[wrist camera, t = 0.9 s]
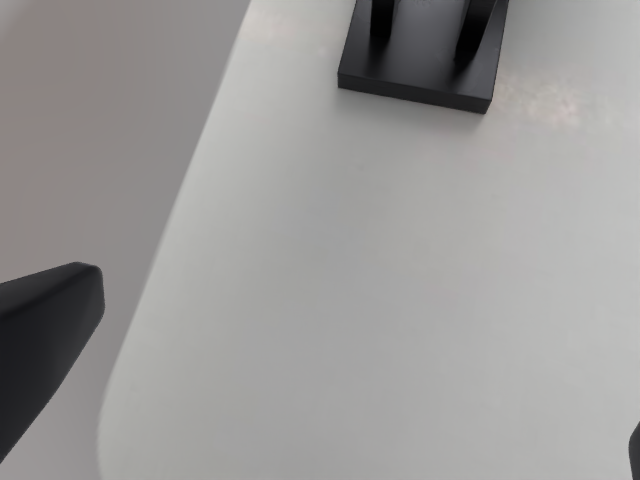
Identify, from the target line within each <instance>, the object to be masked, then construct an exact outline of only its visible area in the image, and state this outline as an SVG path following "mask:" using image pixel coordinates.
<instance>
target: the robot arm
mask: <svg viewBox="0 0 640 480" xmlns="http://www.w3.org/2000/svg"><path fill="white" fill-rule="evenodd" d="M104 310H105V299H104V287H103V275H102V271H101V269H100V268H99V267H97V266H94V265H90V264H86V263H82V262H73V263H69V264H66V265H62V266H59V267H56V268H52V269H49V270H45V271H42V272H38V273H35V274H32V275H28V276H25V277H22V278H18V279H15V280H11V281H8V282H4V283H1V284H0V463H1V462H2V461H3V460H4V458H5V457H6V456H7V454H8V453H9V452H10V451H11V449H12V448H13V447H14V446H15V444H16V443H17V442H18V440H19V439H20V438H21V437H22V435H23V434H24V433H25V431H26V430H27V429H28V428H29V426H30V425H31V424H32V422H33V421H34V420H35V418H36V417H37V416H38V415H39V414H40V412H41V411H42V410H43V408H44V407H45V406H46V404H47V403H48V402H49V400H50V399H51V398H52V396H53V395H54V393H55V392H56V391H57V389H58V388H59V386H60V385H61V383H62V382H63V380H64V379H65V377H66V376H67V374H68V372H69V371H70V369H71V368H72V366H73V364H74V363H75V361H76V360H77V358H78V356H79V355H80V353H81V352H82V350H83V348H84V347H85V345H86V343H87V342H88V340H89V339H90V337H91V335H92V334H93V332H94V331H95V329H96V327H97V326H98V324H99V323H100V321H101V319H102V317H103V314H104ZM629 458H630V464H631V471H632V477H633V480H640V422H639V423H638V425H637V427H636V428H635V430H634V432H633V433H632V435H631V438H630V441H629Z"/></svg>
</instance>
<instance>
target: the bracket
mask: <svg viewBox="0 0 640 480" xmlns="http://www.w3.org/2000/svg"><path fill="white" fill-rule="evenodd" d="M508 3H509V0H356V4H355V8H354V12H353V15H352V19H351V23H350V27H349V31H348V34H347V38H346V42H345V46H344V50H343V53H342V57H341V61H340V65H339V68H338V72H337V77H338V87H339V88H344V89H349V90H355V91H360V92H366V93H371V94H377V95H382V96H388V97H393V98H399V99H405V100H410V101H416V102H421V103H427V104H432V105H438V106H443V107H449V108H454V109H460V110H465V111H471V112H476V113H482V114H485V113H486V111H487V109H488V107H489V105H490V103H491V101H492V97H493V91H494V85H495V79H496V73H497V67H498V61H499V56H500V50H501V44H502V38H503V32H504V26H505V20H506V15H507V9H508Z"/></svg>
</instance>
